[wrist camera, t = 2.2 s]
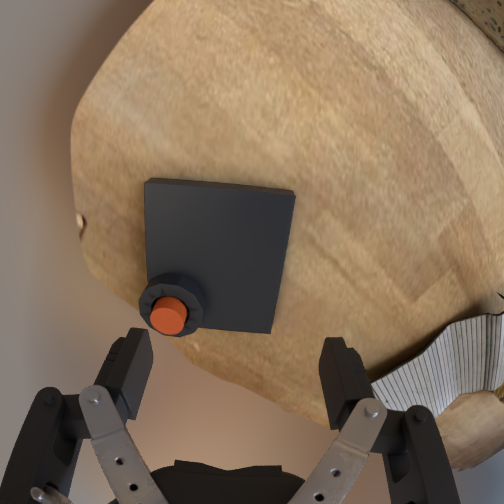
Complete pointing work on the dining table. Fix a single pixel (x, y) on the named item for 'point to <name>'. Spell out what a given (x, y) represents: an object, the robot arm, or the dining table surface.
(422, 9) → the dining table surface
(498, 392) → the tankard
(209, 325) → the scale
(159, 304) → the button
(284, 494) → the robot arm
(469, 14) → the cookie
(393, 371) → the mat
